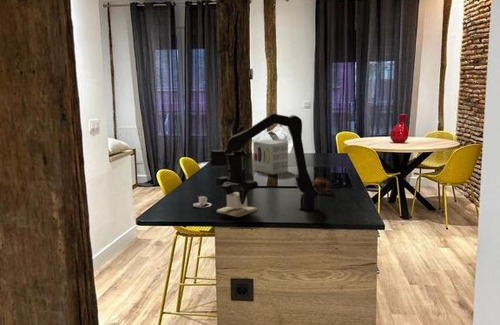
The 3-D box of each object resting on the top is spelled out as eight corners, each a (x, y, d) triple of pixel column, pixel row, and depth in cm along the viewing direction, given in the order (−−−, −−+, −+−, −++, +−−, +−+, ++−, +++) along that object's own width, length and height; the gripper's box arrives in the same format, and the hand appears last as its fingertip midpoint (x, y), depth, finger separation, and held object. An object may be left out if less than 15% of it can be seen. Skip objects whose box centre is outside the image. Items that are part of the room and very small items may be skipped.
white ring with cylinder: (195, 209, 200) (194, 200, 199) (189, 205, 207) (189, 196, 206) (214, 206, 203) (213, 197, 203) (207, 202, 211) (207, 194, 210)
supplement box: (253, 170, 282) (252, 141, 279) (268, 167, 291) (268, 139, 288) (272, 174, 269) (272, 143, 266) (288, 171, 278) (288, 141, 275)
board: (257, 210, 195) (256, 201, 194) (238, 217, 186) (238, 207, 185) (235, 206, 203) (235, 197, 202) (216, 212, 193) (216, 202, 193)
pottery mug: (305, 193, 226) (309, 177, 228) (320, 199, 230) (323, 183, 233) (321, 191, 216) (325, 174, 218) (336, 197, 220) (339, 181, 222)
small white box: (247, 205, 194) (246, 193, 193) (237, 208, 190) (237, 196, 189) (236, 203, 198) (236, 191, 197) (227, 206, 194) (226, 194, 193)
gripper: (265, 165, 191) (266, 202, 194) (231, 161, 203) (232, 196, 206) (248, 169, 183) (249, 208, 185) (214, 165, 194) (215, 201, 197)
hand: (236, 203), depth 194 cm, fingers closed on small white box, 6 cm apart
